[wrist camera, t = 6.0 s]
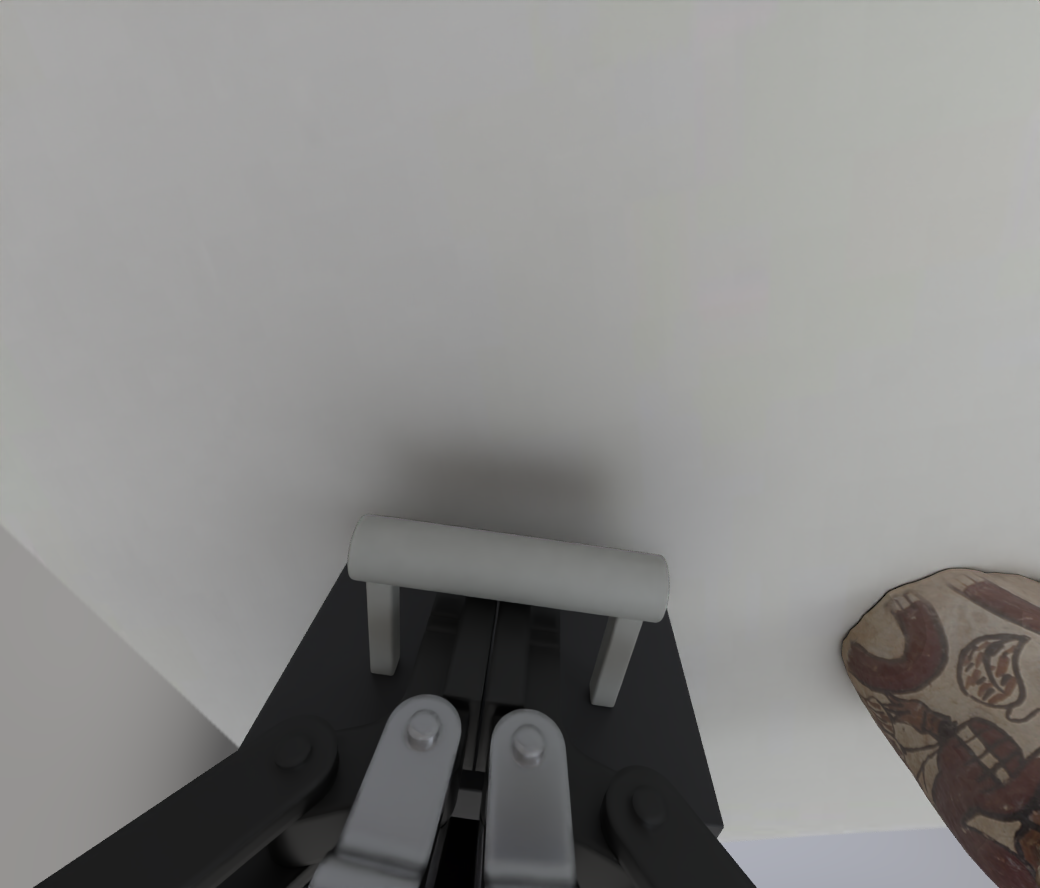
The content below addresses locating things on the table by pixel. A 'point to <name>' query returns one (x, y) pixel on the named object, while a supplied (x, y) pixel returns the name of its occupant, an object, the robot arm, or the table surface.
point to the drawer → (504, 577)
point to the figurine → (963, 706)
